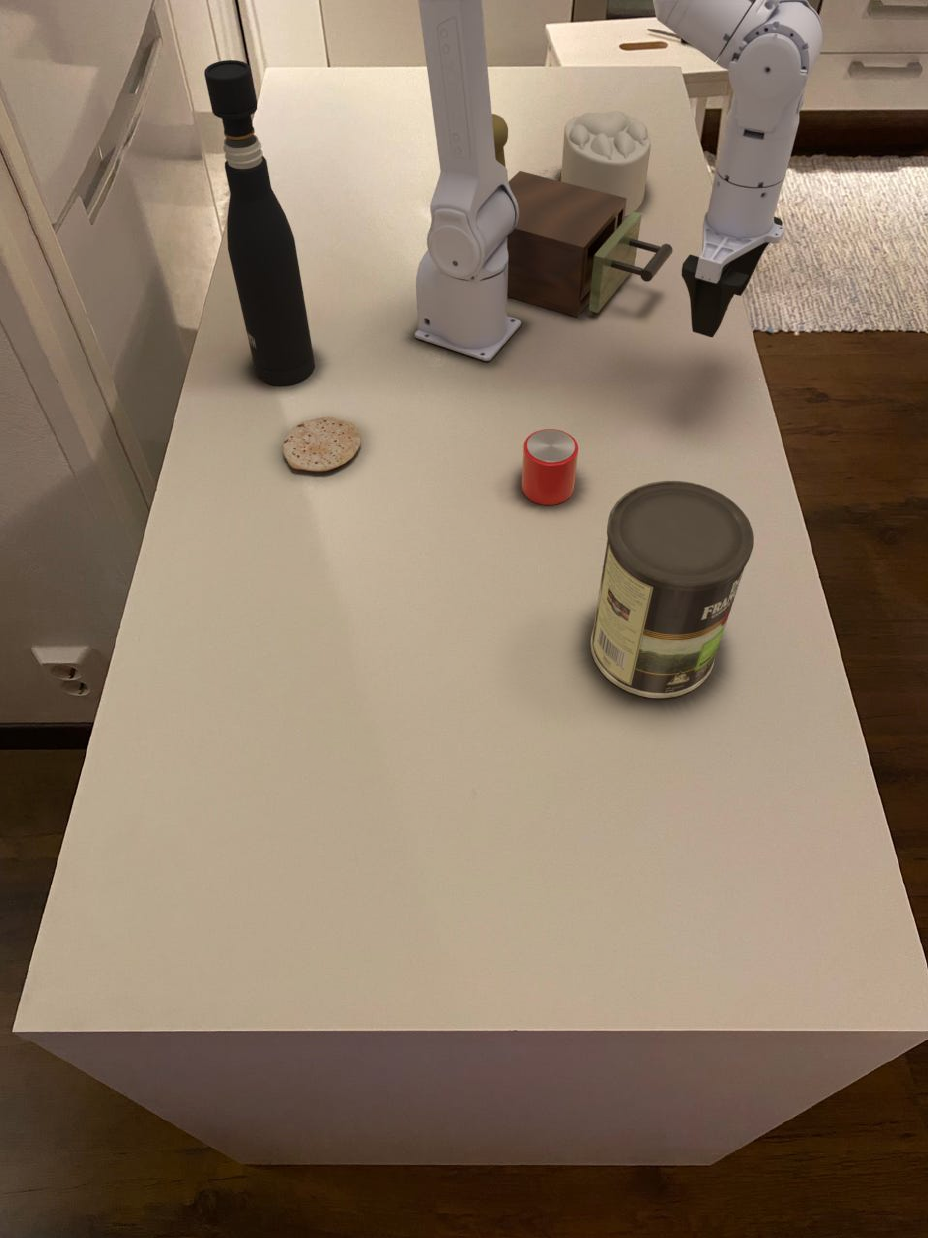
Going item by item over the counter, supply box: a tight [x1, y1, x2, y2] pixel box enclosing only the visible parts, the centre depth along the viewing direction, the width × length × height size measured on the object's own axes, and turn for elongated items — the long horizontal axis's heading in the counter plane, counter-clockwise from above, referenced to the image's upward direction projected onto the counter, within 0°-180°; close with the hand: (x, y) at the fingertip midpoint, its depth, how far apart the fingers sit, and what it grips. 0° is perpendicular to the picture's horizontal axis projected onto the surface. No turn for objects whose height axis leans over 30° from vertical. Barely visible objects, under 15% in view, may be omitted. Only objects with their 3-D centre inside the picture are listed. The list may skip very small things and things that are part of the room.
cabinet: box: [507, 170, 627, 318], centre depth 109 cm, size 14×12×9 cm
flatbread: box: [282, 416, 362, 472], centre depth 93 cm, size 8×8×1 cm
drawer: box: [581, 211, 674, 314], centre depth 107 cm, size 17×10×7 cm, turn 61°
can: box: [521, 428, 579, 506], centre depth 88 cm, size 5×5×5 cm
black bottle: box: [203, 59, 316, 387], centre depth 90 cm, size 6×6×30 cm
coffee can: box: [590, 480, 755, 699], centre depth 73 cm, size 10×10×14 cm
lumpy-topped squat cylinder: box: [560, 110, 652, 217], centre depth 121 cm, size 10×13×9 cm
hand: (718, 311), depth 91 cm, fingers open, 7 cm apart
